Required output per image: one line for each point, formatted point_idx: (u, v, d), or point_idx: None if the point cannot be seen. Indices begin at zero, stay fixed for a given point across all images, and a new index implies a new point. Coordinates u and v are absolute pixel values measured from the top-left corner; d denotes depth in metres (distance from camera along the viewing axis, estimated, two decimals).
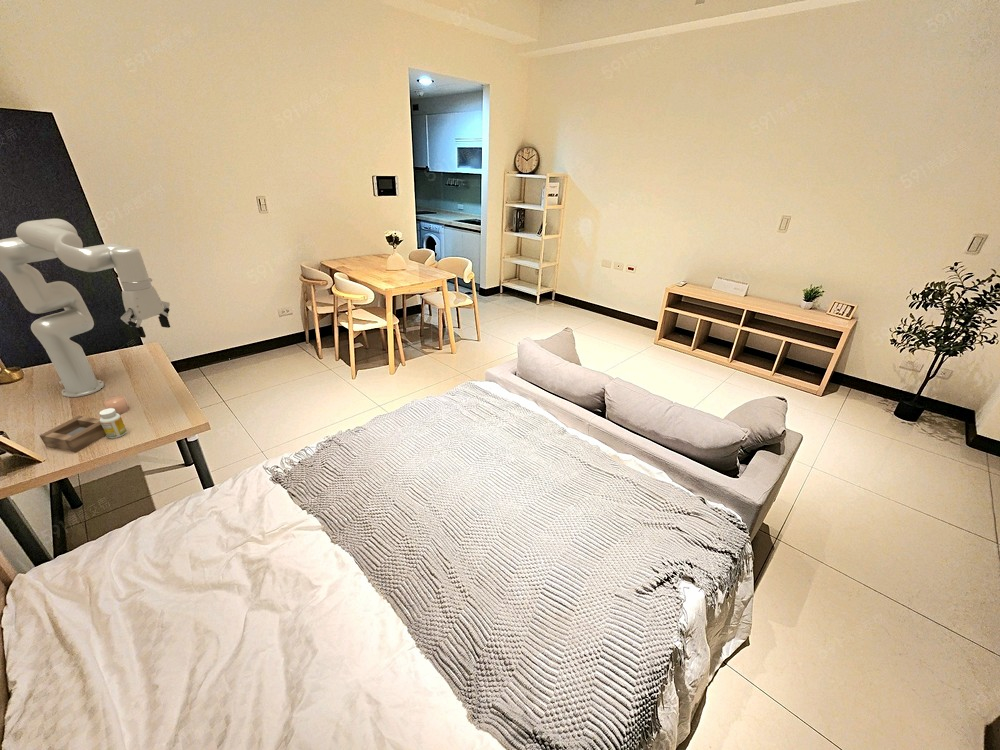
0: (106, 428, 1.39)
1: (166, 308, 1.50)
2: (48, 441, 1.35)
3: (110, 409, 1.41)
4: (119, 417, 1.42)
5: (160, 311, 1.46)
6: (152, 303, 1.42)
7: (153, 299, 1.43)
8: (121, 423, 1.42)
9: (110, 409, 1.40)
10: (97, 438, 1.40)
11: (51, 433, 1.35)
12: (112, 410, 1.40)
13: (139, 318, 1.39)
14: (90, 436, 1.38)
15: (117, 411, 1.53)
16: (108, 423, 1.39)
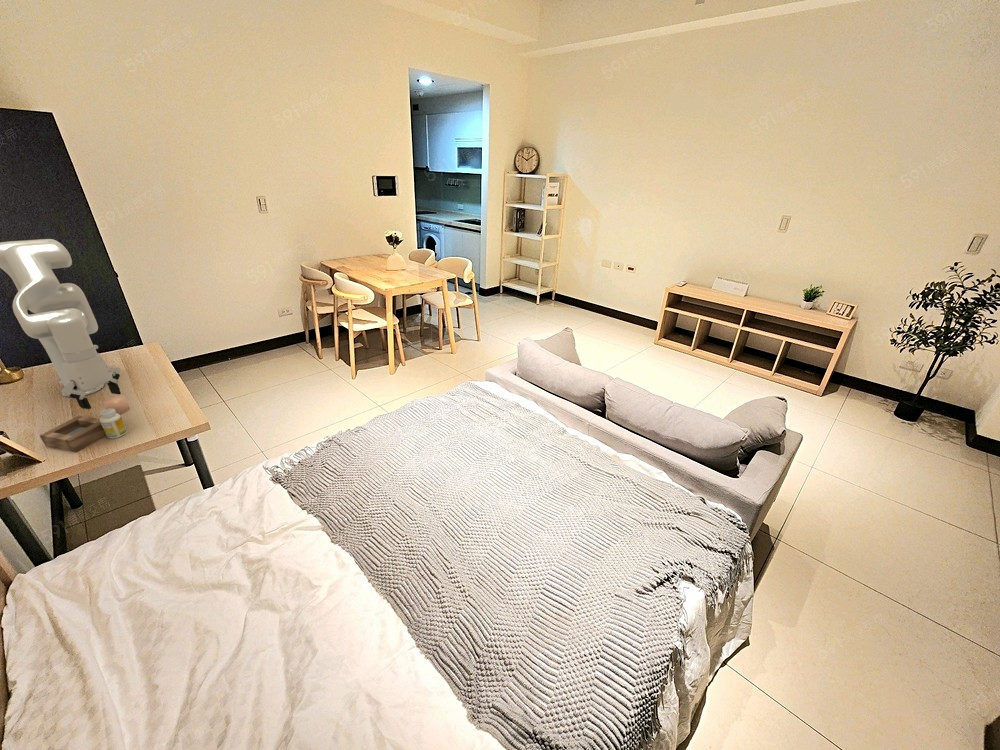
0: (106, 428, 1.39)
1: (116, 374, 1.40)
2: (48, 441, 1.35)
3: (110, 409, 1.41)
4: (119, 417, 1.42)
5: (108, 379, 1.36)
6: (98, 372, 1.33)
7: (99, 367, 1.33)
8: (121, 423, 1.42)
9: (110, 409, 1.40)
10: (97, 438, 1.40)
11: (51, 433, 1.35)
12: (112, 410, 1.40)
13: (83, 390, 1.30)
14: (90, 436, 1.38)
15: (117, 411, 1.53)
16: (108, 423, 1.39)
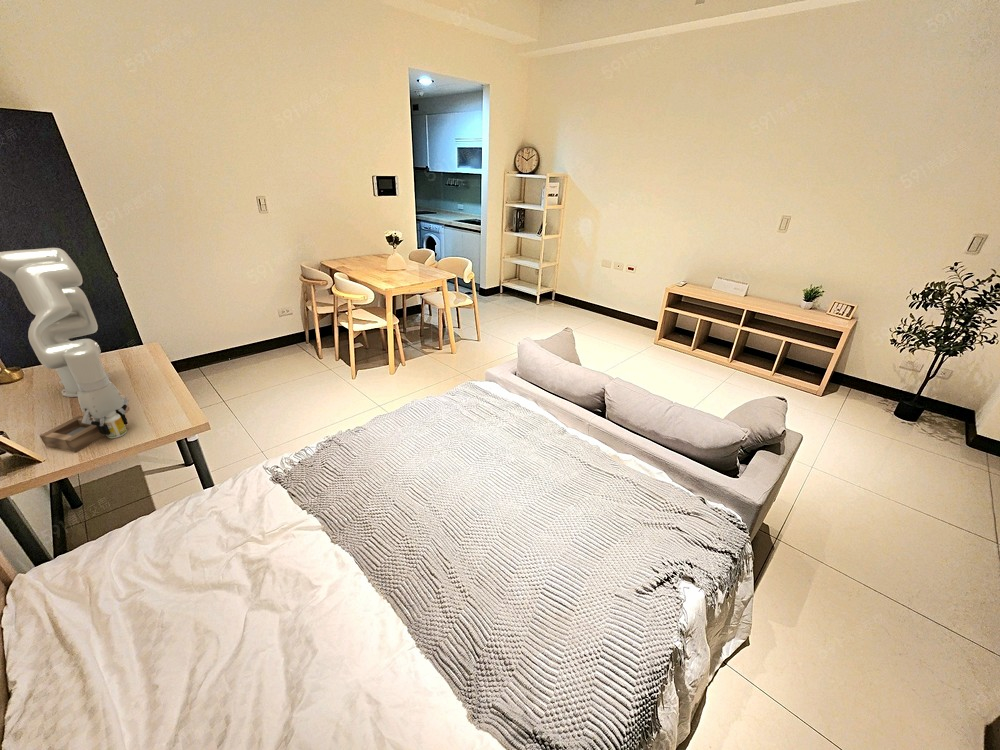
0: None
1: (123, 405, 1.44)
2: (48, 441, 1.35)
3: None
4: (119, 417, 1.42)
5: (120, 405, 1.41)
6: (110, 400, 1.38)
7: (111, 395, 1.38)
8: (121, 423, 1.42)
9: None
10: (97, 438, 1.40)
11: (51, 433, 1.35)
12: None
13: (96, 417, 1.35)
14: (90, 436, 1.38)
15: None
16: (108, 423, 1.39)
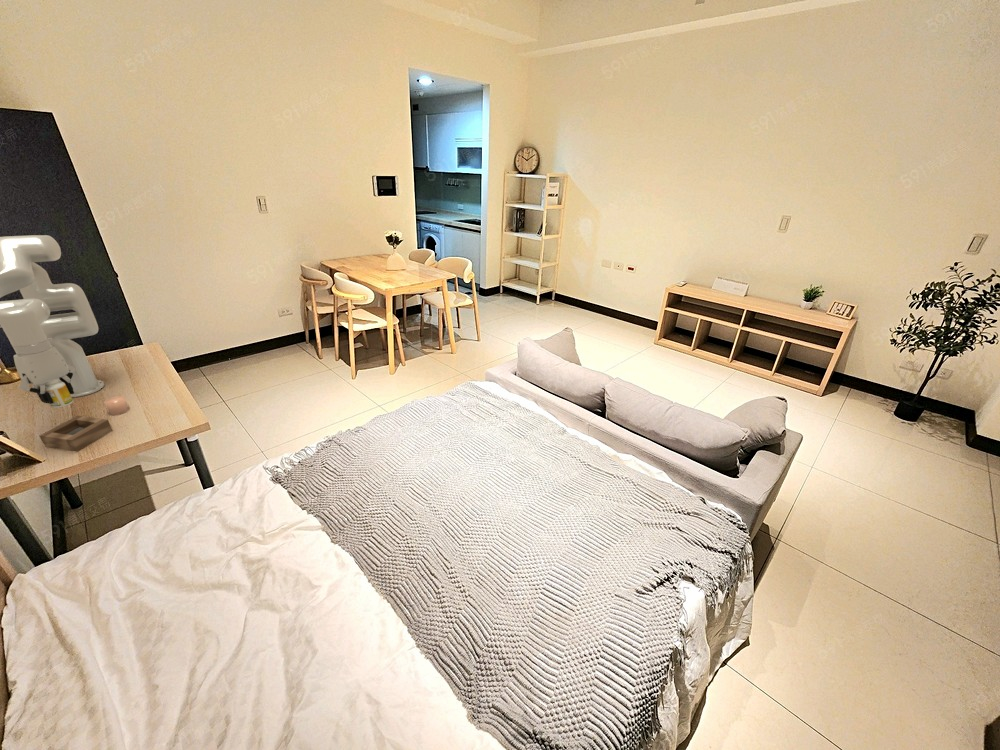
0: None
1: (69, 373, 1.34)
2: (48, 441, 1.35)
3: None
4: (63, 385, 1.32)
5: (64, 373, 1.32)
6: (52, 365, 1.28)
7: (54, 361, 1.28)
8: (66, 392, 1.32)
9: None
10: (97, 437, 1.41)
11: (51, 433, 1.35)
12: None
13: (35, 384, 1.25)
14: (91, 435, 1.39)
15: (117, 411, 1.53)
16: (50, 390, 1.29)
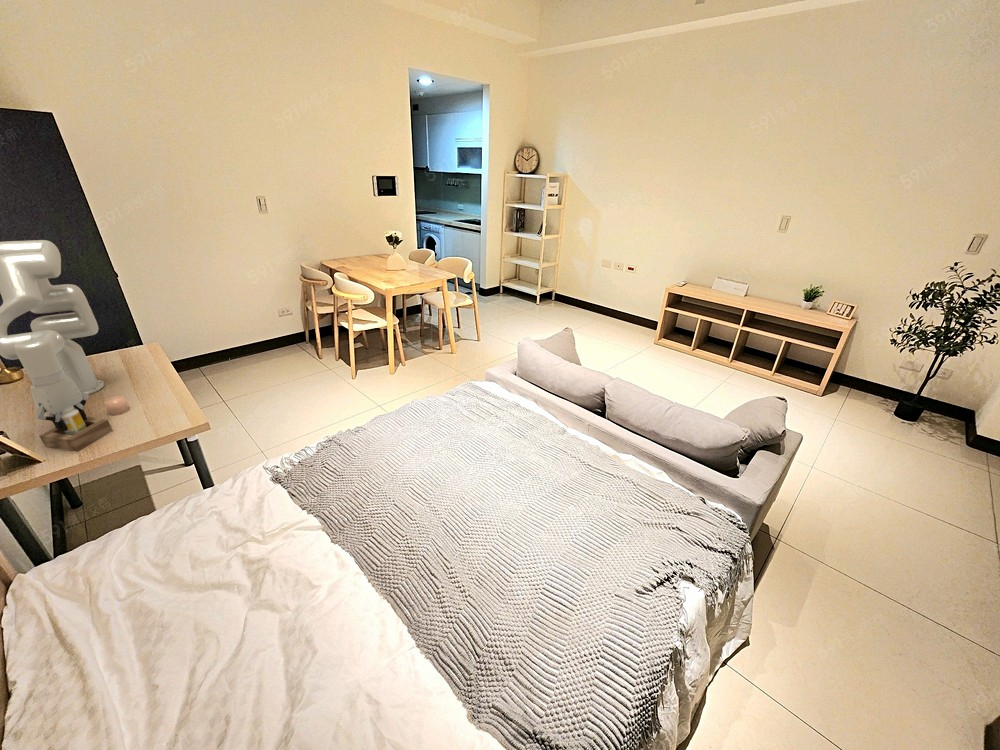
0: None
1: (82, 400, 1.39)
2: (48, 441, 1.35)
3: None
4: (77, 412, 1.37)
5: (78, 400, 1.37)
6: (67, 394, 1.33)
7: (68, 390, 1.33)
8: (79, 419, 1.37)
9: None
10: (97, 437, 1.41)
11: (51, 433, 1.35)
12: None
13: (51, 413, 1.30)
14: (91, 435, 1.39)
15: (117, 411, 1.53)
16: (64, 418, 1.34)
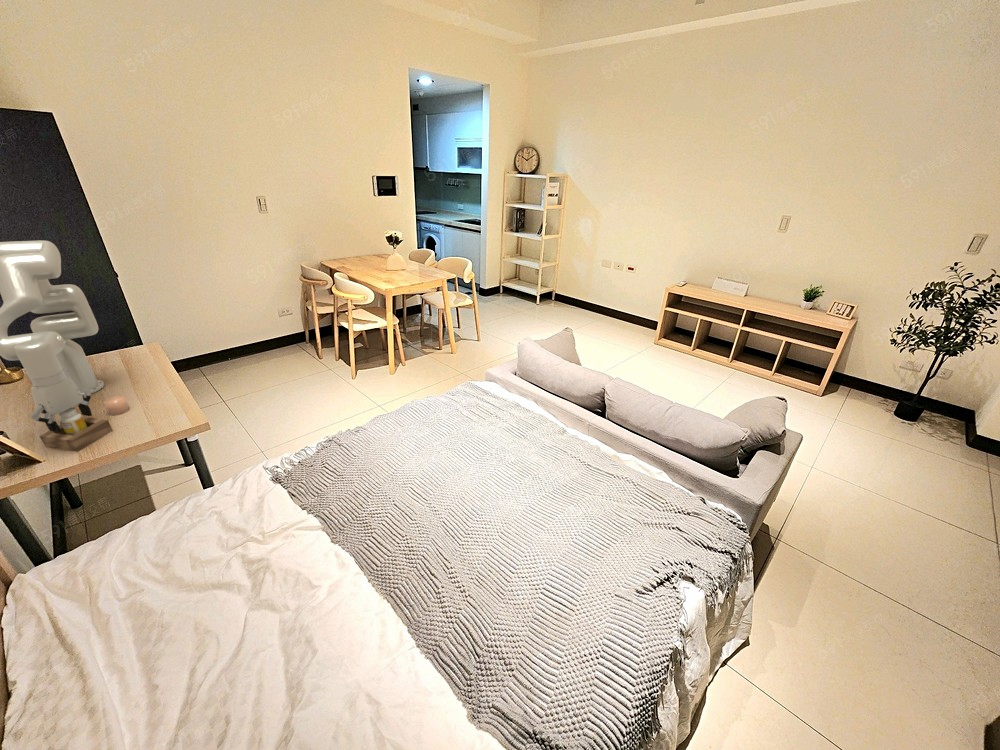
0: (66, 428, 1.36)
1: (87, 396, 1.40)
2: (48, 441, 1.35)
3: (70, 408, 1.37)
4: (80, 417, 1.38)
5: (78, 401, 1.37)
6: (67, 395, 1.33)
7: (69, 391, 1.33)
8: (82, 423, 1.39)
9: (70, 408, 1.37)
10: (98, 438, 1.41)
11: (51, 433, 1.35)
12: (72, 409, 1.36)
13: (51, 413, 1.30)
14: (91, 436, 1.39)
15: (117, 411, 1.53)
16: (67, 423, 1.35)
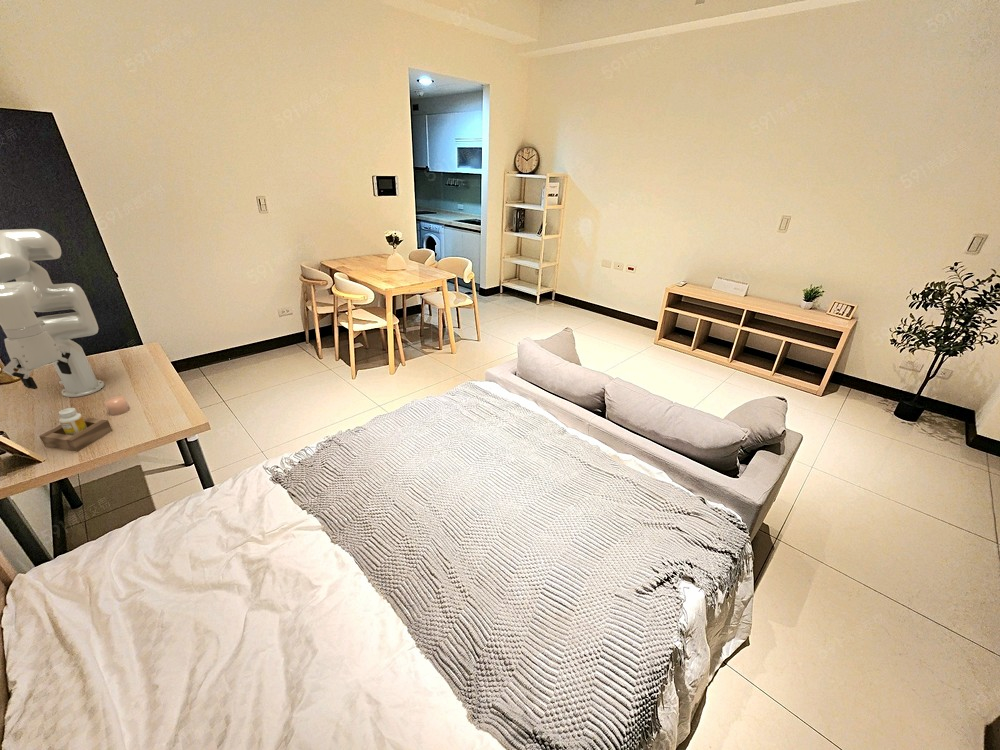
0: (66, 428, 1.36)
1: (66, 353, 1.33)
2: (48, 441, 1.35)
3: (70, 408, 1.37)
4: (80, 417, 1.38)
5: (56, 358, 1.29)
6: (44, 350, 1.26)
7: (46, 345, 1.26)
8: (82, 423, 1.39)
9: (70, 408, 1.37)
10: (98, 438, 1.41)
11: (51, 433, 1.35)
12: (72, 409, 1.36)
13: (27, 368, 1.23)
14: (91, 436, 1.39)
15: (118, 411, 1.53)
16: (67, 423, 1.35)
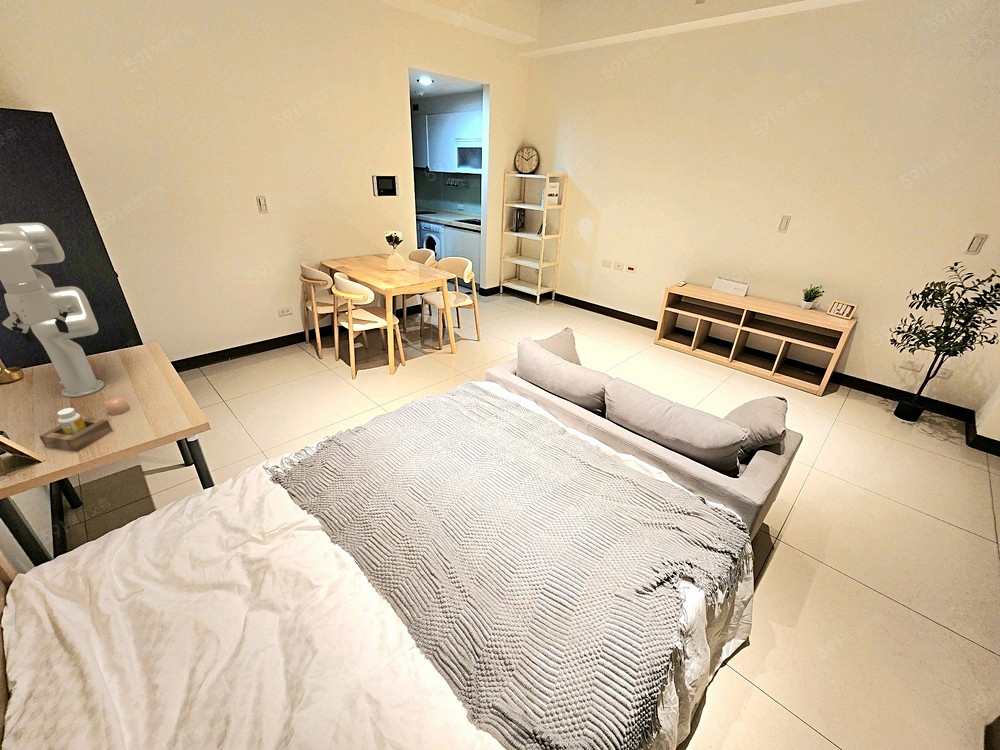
0: (65, 428, 1.35)
1: (63, 312, 1.38)
2: (48, 441, 1.35)
3: (69, 408, 1.37)
4: (79, 417, 1.37)
5: (54, 315, 1.35)
6: (43, 307, 1.31)
7: (44, 302, 1.31)
8: (81, 423, 1.38)
9: (69, 409, 1.36)
10: (97, 438, 1.41)
11: (51, 433, 1.35)
12: (71, 410, 1.36)
13: (26, 323, 1.28)
14: (91, 436, 1.39)
15: (118, 411, 1.53)
16: (66, 423, 1.35)
